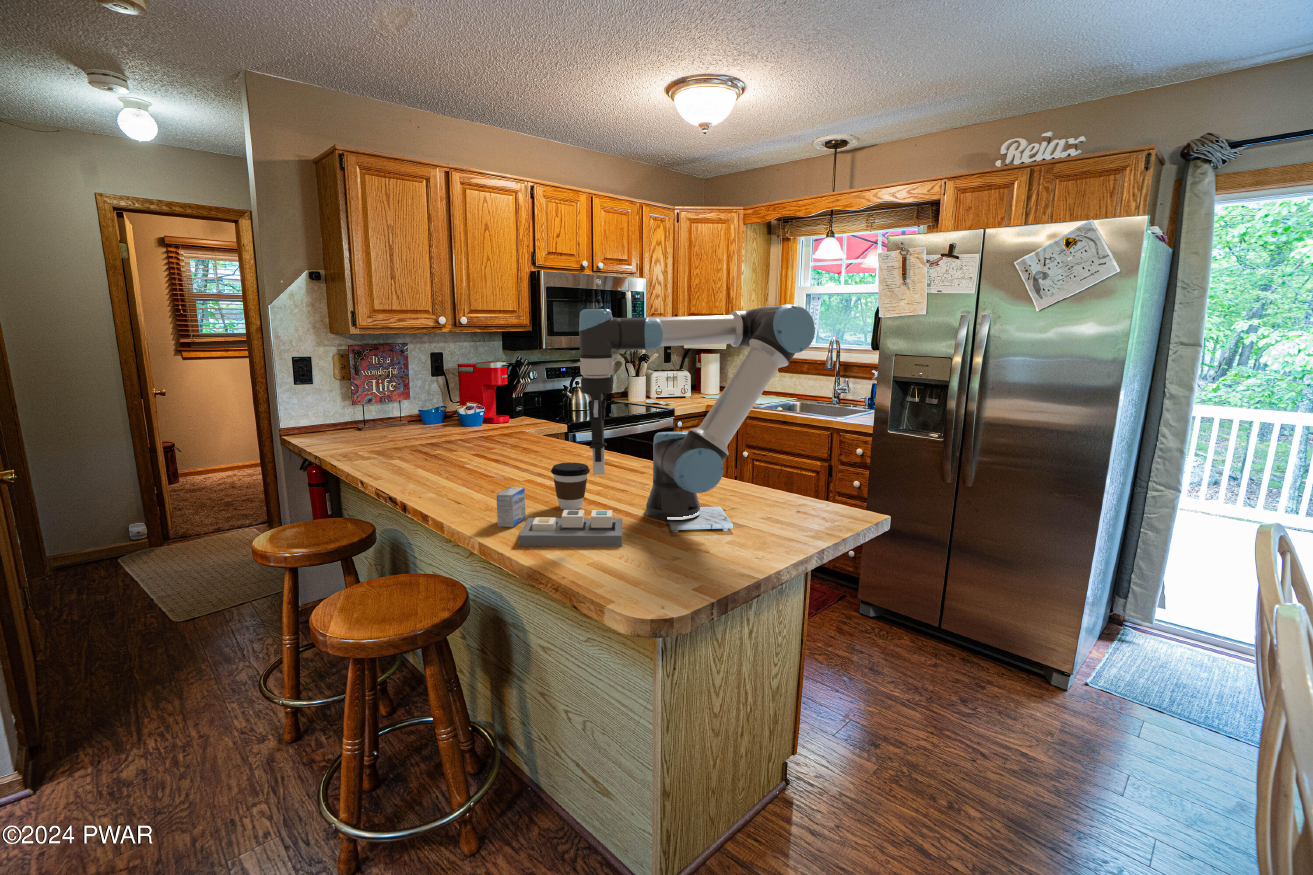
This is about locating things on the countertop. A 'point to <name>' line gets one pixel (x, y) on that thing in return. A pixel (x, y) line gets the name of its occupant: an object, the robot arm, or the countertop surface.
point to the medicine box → (511, 507)
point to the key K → (573, 518)
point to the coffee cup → (570, 484)
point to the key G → (544, 524)
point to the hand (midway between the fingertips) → (598, 473)
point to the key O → (601, 519)
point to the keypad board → (572, 535)
